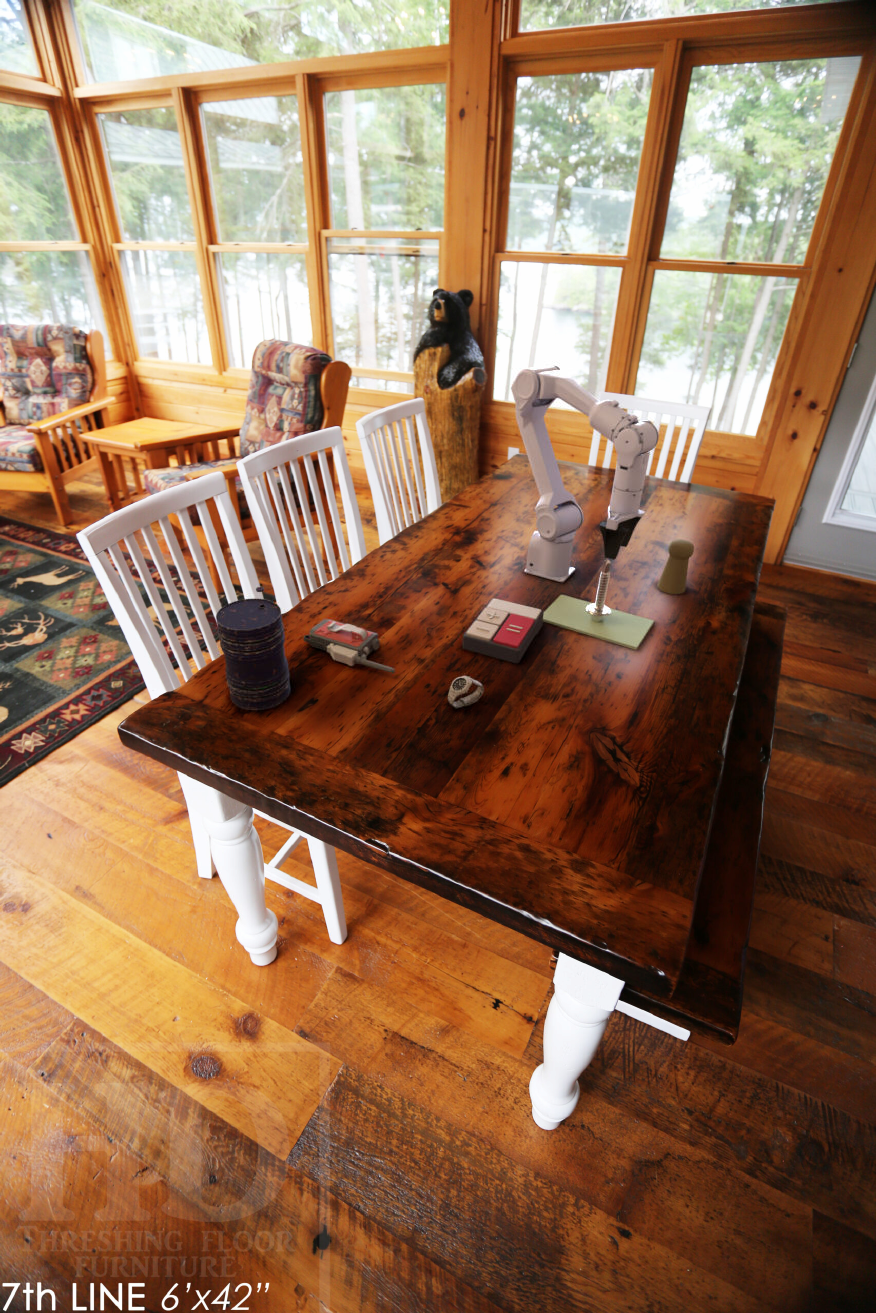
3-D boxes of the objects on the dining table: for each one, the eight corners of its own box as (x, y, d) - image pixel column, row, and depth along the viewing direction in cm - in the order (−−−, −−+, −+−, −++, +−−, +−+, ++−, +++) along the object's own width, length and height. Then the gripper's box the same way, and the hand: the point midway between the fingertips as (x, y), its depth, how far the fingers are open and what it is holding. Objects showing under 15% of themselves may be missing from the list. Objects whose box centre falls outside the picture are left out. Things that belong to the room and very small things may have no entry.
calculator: (462, 632, 117) (491, 594, 128) (461, 651, 120) (490, 612, 131) (519, 647, 114) (545, 607, 125) (517, 667, 116) (542, 625, 127)
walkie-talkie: (296, 650, 117) (391, 681, 110) (293, 629, 115) (391, 659, 108) (324, 628, 124) (415, 656, 117) (322, 608, 122) (415, 635, 114)
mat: (538, 620, 129) (538, 617, 129) (560, 596, 138) (561, 594, 138) (636, 650, 121) (636, 647, 121) (653, 623, 130) (654, 620, 129)
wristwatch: (444, 702, 106) (445, 677, 103) (476, 692, 108) (477, 668, 105) (454, 714, 103) (456, 689, 100) (487, 703, 106) (489, 679, 103)
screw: (604, 627, 126) (581, 620, 128) (612, 617, 130) (589, 610, 132) (616, 567, 119) (591, 560, 121) (624, 558, 123) (600, 552, 125)
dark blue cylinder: (260, 718, 101) (244, 618, 91) (216, 696, 105) (197, 599, 95) (303, 687, 108) (293, 592, 98) (260, 668, 112) (247, 575, 102)
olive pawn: (686, 595, 140) (699, 548, 134) (658, 592, 141) (669, 545, 135) (683, 583, 145) (695, 537, 139) (656, 580, 146) (667, 534, 140)
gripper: (637, 501, 119) (624, 568, 126) (658, 481, 129) (645, 544, 137) (600, 494, 122) (590, 560, 129) (623, 475, 132) (612, 537, 140)
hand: (616, 551), depth 133 cm, fingers open, 7 cm apart
